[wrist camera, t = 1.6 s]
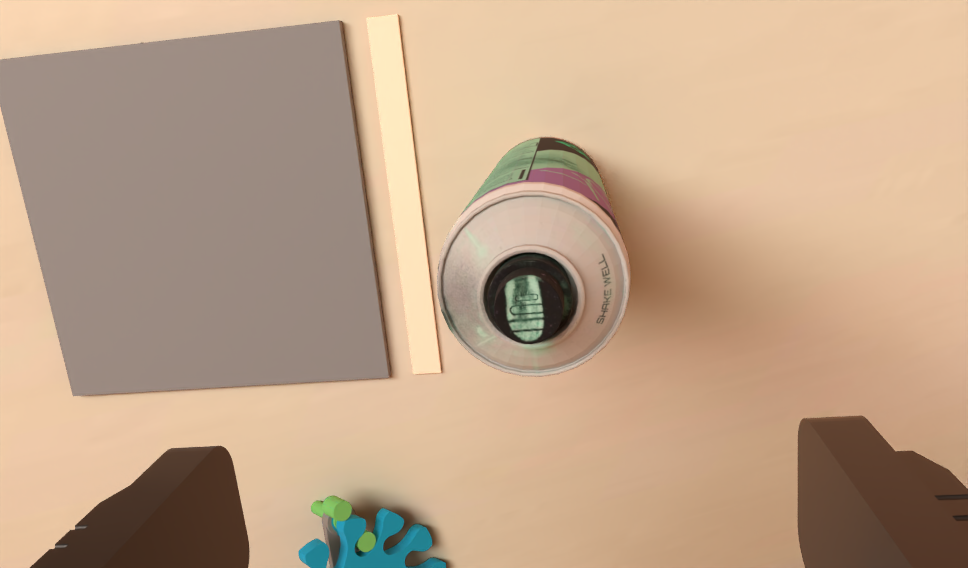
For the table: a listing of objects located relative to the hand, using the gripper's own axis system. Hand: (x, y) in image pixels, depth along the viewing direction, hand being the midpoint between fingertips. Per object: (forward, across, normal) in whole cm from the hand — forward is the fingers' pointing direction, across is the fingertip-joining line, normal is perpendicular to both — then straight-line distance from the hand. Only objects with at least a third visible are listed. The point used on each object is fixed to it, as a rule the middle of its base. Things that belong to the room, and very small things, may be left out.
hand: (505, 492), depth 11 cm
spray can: (+28, 0, 0) cm, 28 cm away
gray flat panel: (+28, +17, 0) cm, 33 cm away
